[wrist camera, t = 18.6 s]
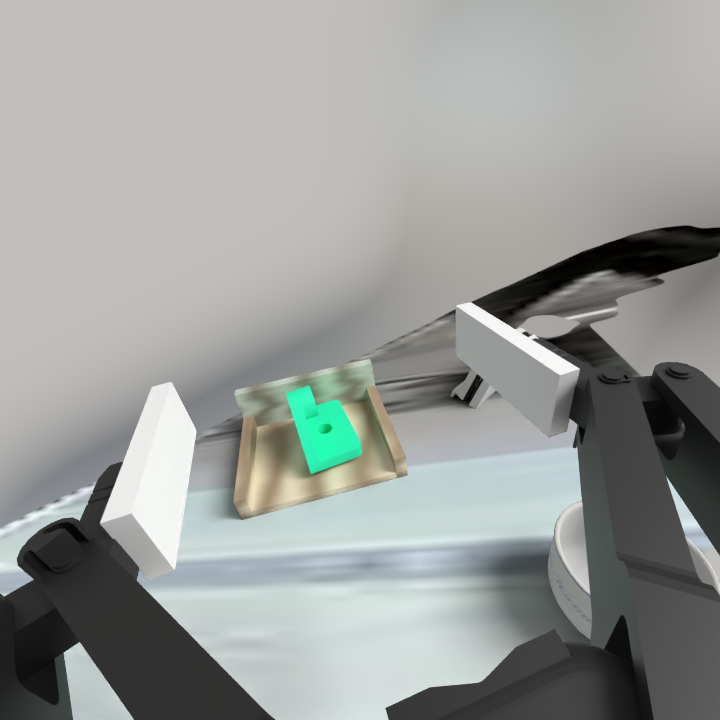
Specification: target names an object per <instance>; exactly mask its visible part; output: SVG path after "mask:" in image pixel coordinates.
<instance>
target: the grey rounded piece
mask: <svg viewBox="0 0 720 720" xmlns="http://www.w3.org/2000/svg"><path fill="white" fill-rule="evenodd" d="M516 330H517V331H518V332H520V333H522V334H523V335H525V336H527V337H528V338H530V339H534V338H537V337H536V336H535V335H528V334H529V333H527V330H525V329H522V328H518V329H516ZM537 339H538V338H537ZM495 391H496V390H495V389H494V388H493V387H492V386H490V385H489V384H488V383H487V382H486V381H485V380H484V379H483V378H481V377H480V376H479V375H478V374H477V373H476V372H475V371H474V370H472V369H471V370H470V372H469V374H468V376H467V378H466V380H465V381H463V382H462V383H461V384H460V385H458V386H457V387H456V388H455V389H453V391H452V393H451V395H450V396H451V397H452V398H453V397H454V396H455V395H456V394H457V395H458V396H459V398H460V399H461V400H463V399H465V400H466V399H468V398H469V397H470V396H471V395H472V396H471V398H470V399H469V401H468V402H469V403H470V404H469V406H471V407H472V408H477V407H478V406H479V405H480V404H482V403H483V402H484V401H485V400H486V399H487V398H488V397H489V396H491V395H492V394H493V393H494V392H495ZM472 393H473V394H472Z"/></svg>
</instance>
